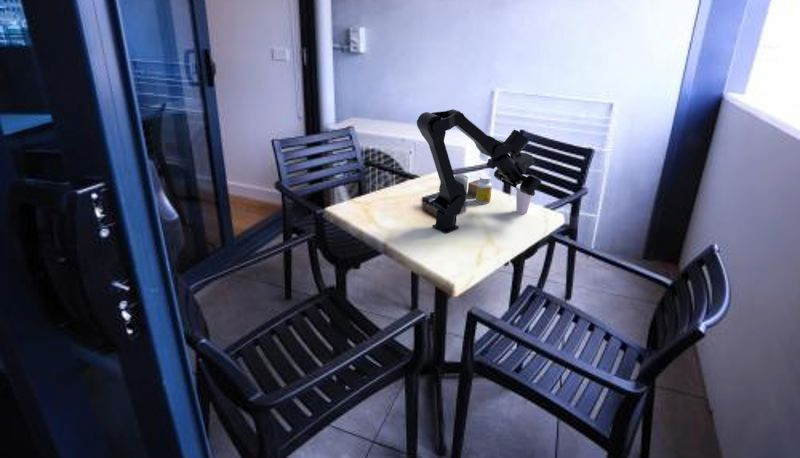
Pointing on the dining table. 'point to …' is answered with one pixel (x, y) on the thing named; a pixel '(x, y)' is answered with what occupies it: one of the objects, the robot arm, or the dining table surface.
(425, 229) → the dining table surface
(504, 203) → the dining table surface
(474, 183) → the walnut block
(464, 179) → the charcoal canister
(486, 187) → the supplement bottle
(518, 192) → the smoothie
